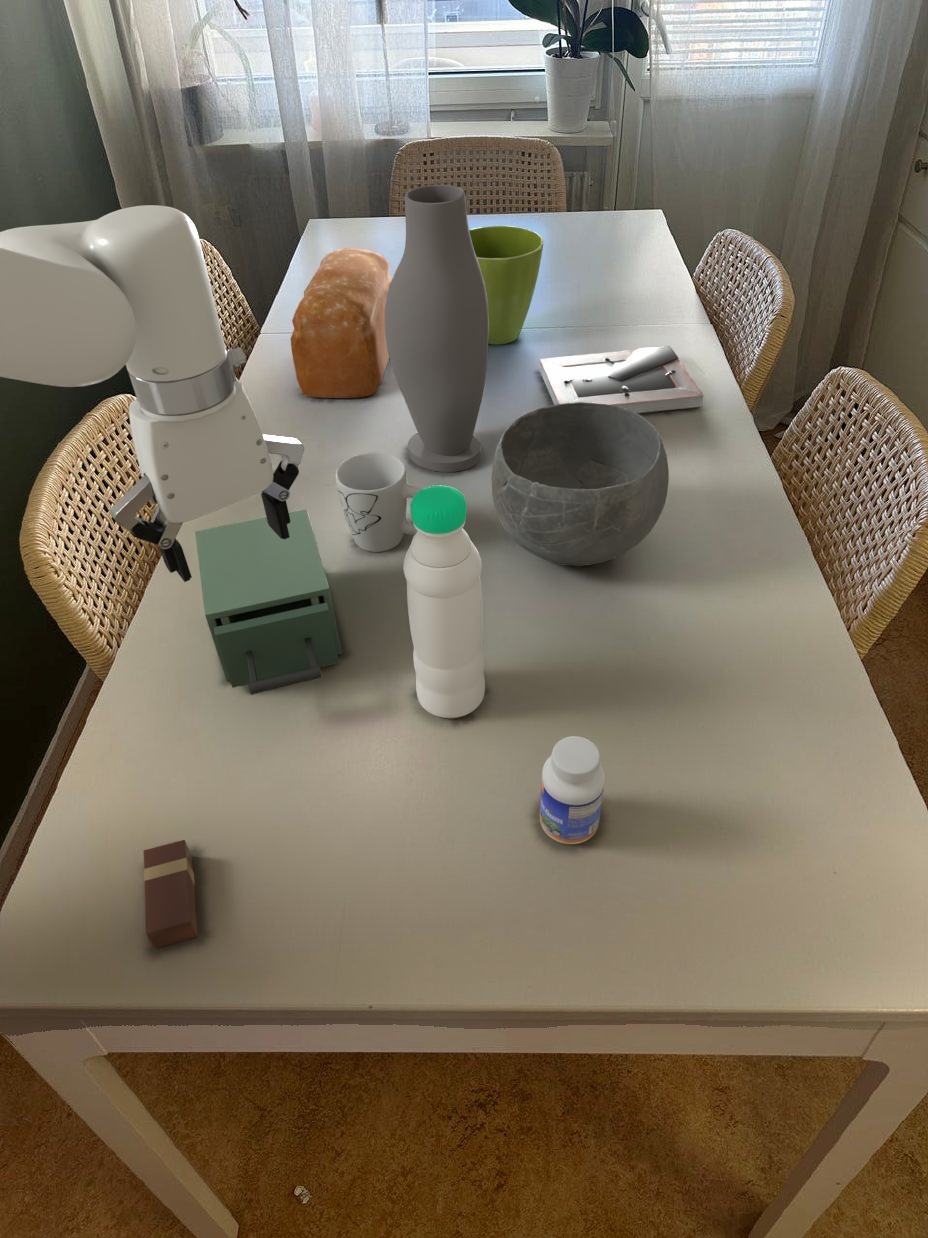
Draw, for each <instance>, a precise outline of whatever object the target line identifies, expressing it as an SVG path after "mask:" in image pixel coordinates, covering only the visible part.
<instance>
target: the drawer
mask: <svg viewBox="0 0 928 1238" xmlns="http://www.w3.org/2000/svg"><path fill="white" fill-rule="evenodd" d="M221 622H222V626H218V627H214V630H215V636H216V639H217V642H218V646H219V649H220V652H221V655H222V658H223V661H224V664H225V667H226V670H227V673H228V677H229V680H228V681H229V683H230V686H231V689H234V688H238V687H239V688H240V687H243V686H247V685H248V687H249V692H250V694H251V695H256V694H257V695H258V694H260V693H265V692H269V691H273V690H277V689H282V688H286V687H291V686H295V685H299V684H303V683H307V682H311V681H315V680H320V679H322V678H323V675H322V670H321V668H325V667H328V666H332V665H337V664H340V659H339V655H338V654H337V649H336V644H335V639H334V634H333V628H332V623H331V618H330V613H329V608H328V605H327V603H322V604H319V599H318V597H314V598H309V599H304V600H300V601H295V602H291V603H286V604H282V605H277V606H272V607H268V608H263V609H259V610H254V611H250V612H245V613H240V614H236V615H231V616H227V617H222V618H221Z"/></svg>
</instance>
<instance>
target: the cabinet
mask: <svg viewBox="0 0 928 1238" xmlns="http://www.w3.org/2000/svg"><path fill="white" fill-rule="evenodd" d="M289 516H290V523H289V524H287V527H288V532H289V536H290V537H289V538H287V539H285V540H284V539H281V538H280V537H279V536H278V535H277V534H276V533H275V532H274V531H273V529H272V528H271V527H270V526H269V524H268V521H267V517H266V516H264V517H260V518H254V519H251V520H250V519H249V520H245V521H239V522H235V523H230V524H225V525H220V526H216V527H209V528H205V529H199V530H195V534H194V535H195V541H196V550H197V556H198V558H197V559H198V566H199V567H198V568H199V576H200V584H201V593H202V600H203V609H204V617H205V620H206V624H207V626H208V628H209V632H210V635H211V638H212V641H213V644H214V646H215V651H216V653H217V656H218V660H219V662H220V666H221V668H222V669H221V670H222V671H223V674H224V678H225V680H226V681H230V680H229V677H228V673H227V670H226V667H225V664H224V661H223V658H222V655H221V652H220V649H219V646H218V642H217V639H216V636H215V630H214V627H218V626H222V622H221V618H222V617H227V616H231V615H236V614H240V613H245V612H250V611H254V610H259V609H263V608H268V607H272V606H277V605H282V604H286V603H291V602H295V601H300V600H304V599H309V598H314V597H318V599H319V604H322V603H327V605H328V608H329V613H330V618H331V623H332V628H333V634H334V639H335V644H336V649H337V654H338V656H340V655H342V652H343V651H342V646H341V642H340V636H339V631H338V626H337V621H336V615H335V609H334V604H333V599H332V593H331V588H330V584H329V581H328V577H327V574H326V570H325V567H324V563H323V560H322V557H321V552H320V549H319V547H318V543H317V539H316V535H315V532H314V529H313V525H312V522H311V517H310V515H309V511H308V509H307V508H305V509H301V510H296V511H289Z"/></svg>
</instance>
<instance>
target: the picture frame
mask: <svg viewBox="0 0 928 1238" xmlns="http://www.w3.org/2000/svg"><path fill="white" fill-rule="evenodd" d="M538 368H539V369H538V370H539V372H540V375H541V377H542V379H543V381H544V384H545V386H546V388H547V391H548V393H549V396H550V398H551V400H552V403H553V405H557V404H563V403H576V402H584V403H599V404H608V405H614V406H619V407H622V408H625V409H628V410H631V411H633V412H635V413H637V414H639V415H640V414H648V413H658V412H666V411H674V410H686V409H694V408H695V409H697V408H701V407H703V403H704V396H705V395H704V393H703V392H702V391H701V389H700V388H699V386H698V385H697V383H696V382H695V381H694V379H693V378H692V376H691V375H690V374H689V372H688V371H687V369H686V367H685V366H684V365H683V363H682V362H681V360H680V359H679V355H677V353H676V352H675V350H674V349H673V347H672V346H671V345H664V346H662V345H661V346H654V347H642V348H640V347H639V348H638V349H632V350H630V349H629V350H621V351H608V352H599V353H589V354H577V355H568V356H567V355H566V356H557V357H555V356H554V357H545V358H539V367H538Z"/></svg>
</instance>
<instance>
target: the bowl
mask: <svg viewBox="0 0 928 1238" xmlns="http://www.w3.org/2000/svg"><path fill="white" fill-rule="evenodd" d="M490 479H491V480H490V481H491V491H492V494H491V495H492V500H493V504H494V505H493V506H494V508H495V511H496V513H497V516H498V518H499V519H498V520H499V521H500V523H501V525H502V526H503V528H504V529H505V531H506V532H507V534H508V535H509V536H510V537H511V538H512V539H513V541H514V542H516V544H518V545H519V546H521V547H522V548H523V549H524V550H526V551H527V552H529V554H532V555H534V556H536V557H538V558H540V559H541V560H542V559H543V560H545V561H547V562H551V563H553V564H556V565H557V564H558V565H561V566H562V565H563V566H578V567H581V566H589V565H595V564H596V565H597V564H601V563H604V562H607V561H610V560H613V559H615V558H618V557H619V556H622V555H623V554H625V553H628V552H629V551H630V550H632V549H634V548H635V547H636V546H638V544H640V543H641V542H642V541H643V540H644V539H645V538H646V537H647V536H648V535H649V534H650V532H652V530H653V528H654V527H655V525H656V524H657V522H658V521H659V519H660V516H661V514H662V513H663V510H664V508H665V504H666V500H667V496H668V491H669V481H670V471H669V462H668V456H667V452H666V449H665V444H664V442H663V439H662V437H661V435H660V433H659V431H658V430H657V428H656V427H655V426H654V425H653V424H652V423H651V422H650V421H649V420H647V419H646V418H645V417H644V416H642V415H641V414H640V413H639V414H637V413H635V412H633V411H631V410H628V409H625V408H622V407H619V406H614V405H608V404H599V403H584V402H576V403H563V404H557V405H554V404H552V405H547V406H544V407H540V408H537V409H533V410H532V411H529V412H527V413H525V414H523V415H521V416H520V417H518V418H517V419H516V420H514V421H513V422H512V423H511V424H509V426H508V427H507V428H506V429H505V431H504V432H503V433H502V436H501V437H500V440H499V442H498V443H497V447H496V450H495V453H494V456H493V461H492V468H491V478H490Z"/></svg>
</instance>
